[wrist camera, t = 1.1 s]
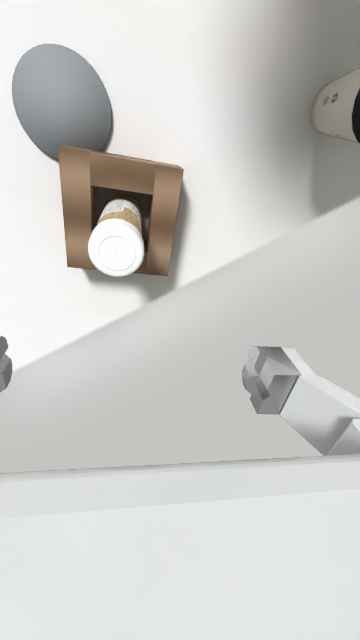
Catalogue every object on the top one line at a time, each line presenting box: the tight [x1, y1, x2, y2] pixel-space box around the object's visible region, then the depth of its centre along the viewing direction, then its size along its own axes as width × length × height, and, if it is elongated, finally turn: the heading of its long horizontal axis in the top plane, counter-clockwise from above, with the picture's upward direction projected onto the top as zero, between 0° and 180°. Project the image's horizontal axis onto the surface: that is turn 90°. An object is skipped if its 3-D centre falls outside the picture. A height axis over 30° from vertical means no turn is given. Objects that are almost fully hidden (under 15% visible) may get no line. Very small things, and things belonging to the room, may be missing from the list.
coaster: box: [12, 44, 112, 160], centre depth 26 cm, size 9×9×1 cm
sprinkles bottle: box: [88, 194, 144, 277], centre depth 27 cm, size 5×5×13 cm
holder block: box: [58, 146, 184, 276], centre depth 31 cm, size 12×12×4 cm
